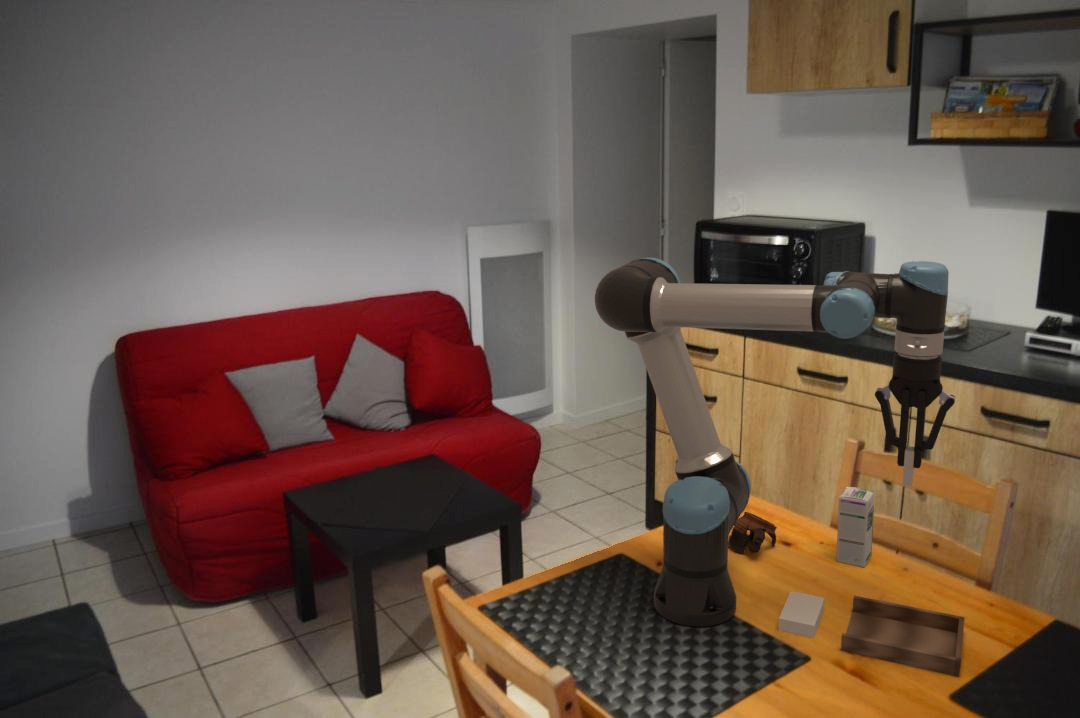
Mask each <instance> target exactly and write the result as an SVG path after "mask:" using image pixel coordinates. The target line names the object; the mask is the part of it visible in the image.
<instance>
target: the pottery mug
mask: <svg viewBox="0 0 1080 718" xmlns="http://www.w3.org/2000/svg"><path fill="white" fill-rule="evenodd" d="M777 528H778V527H777V526H776V525H775V524H774V523H772V522H770V521H768V520H766V519H764V518H762V517H760V516H758V515H756V514H753V513H751V512H748V511H743V515H742V516H739V518H738V520H737V521H736V523H735V524H734V526H733V528H732V529H731V533H730V534H729V536H728V548H730V549H731V550H732V551H733V550H734V552H736V553H738V554H740V555H742V554H744V555H745V553H746V550H747V551H749V553H751V554H755V553H756V554H757V553H759V552H760V550H761V547H762V544H763V543H764V541H765V539H766V534H767V535H768V536H769V537H770V538H771V543H770V544H772V545H773V546H772V545H771V546H772V547H775V546H776V543H777V534H776V530H777ZM748 531H749V534H748Z"/></svg>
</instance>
